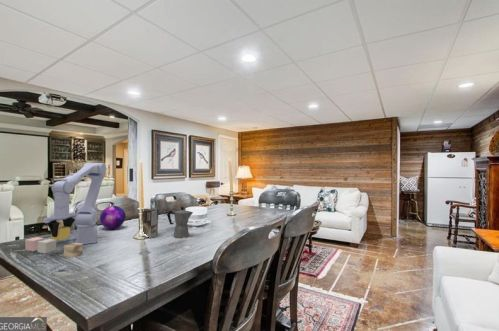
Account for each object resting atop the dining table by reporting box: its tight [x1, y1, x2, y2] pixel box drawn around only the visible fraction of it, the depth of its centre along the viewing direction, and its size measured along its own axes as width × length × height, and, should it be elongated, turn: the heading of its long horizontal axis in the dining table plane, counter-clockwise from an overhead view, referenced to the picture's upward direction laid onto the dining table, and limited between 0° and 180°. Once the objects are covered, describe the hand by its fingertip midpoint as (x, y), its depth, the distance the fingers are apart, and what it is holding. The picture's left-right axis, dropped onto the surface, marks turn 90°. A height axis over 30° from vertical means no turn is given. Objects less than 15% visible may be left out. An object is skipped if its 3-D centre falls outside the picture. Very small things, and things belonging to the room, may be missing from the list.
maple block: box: [63, 242, 84, 259], centre depth 116 cm, size 5×5×5 cm
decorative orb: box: [99, 205, 127, 230], centre depth 166 cm, size 15×15×15 cm
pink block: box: [24, 236, 45, 252], centre depth 122 cm, size 5×5×5 cm
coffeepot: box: [166, 206, 194, 239], centre depth 153 cm, size 15×9×18 cm, turn 103°
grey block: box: [36, 238, 58, 254], centre depth 120 cm, size 5×5×5 cm
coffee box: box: [138, 208, 159, 239], centre depth 151 cm, size 9×6×16 cm
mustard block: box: [50, 225, 71, 241], centre depth 118 cm, size 5×5×5 cm
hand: (60, 235), depth 118 cm, fingers closed on mustard block, 5 cm apart
